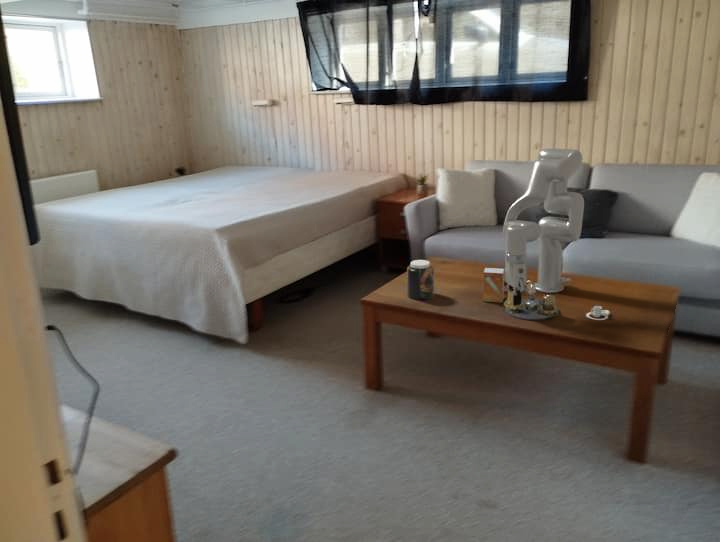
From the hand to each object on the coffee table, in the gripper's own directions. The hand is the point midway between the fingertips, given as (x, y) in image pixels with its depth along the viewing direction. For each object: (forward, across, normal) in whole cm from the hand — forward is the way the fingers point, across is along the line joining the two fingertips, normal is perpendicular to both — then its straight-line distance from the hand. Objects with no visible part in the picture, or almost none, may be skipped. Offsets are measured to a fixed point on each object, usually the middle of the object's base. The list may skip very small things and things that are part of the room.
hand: (514, 301), depth 235 cm
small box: (+5, +16, +2) cm, 17 cm away
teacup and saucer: (+6, -16, -30) cm, 34 cm away
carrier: (+5, 0, -7) cm, 9 cm away
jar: (+5, +31, +29) cm, 42 cm away
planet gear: (+2, 0, 0) cm, 2 cm away
